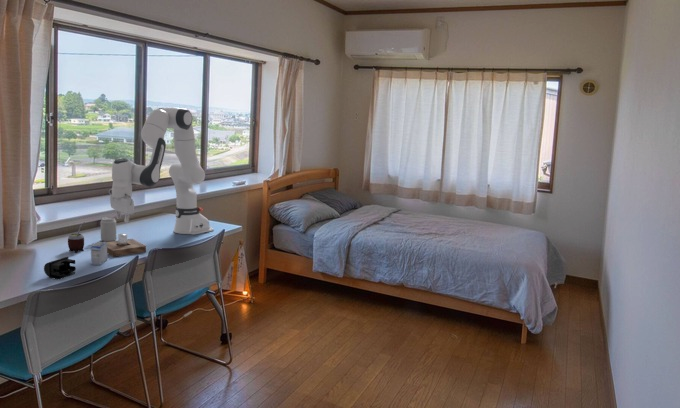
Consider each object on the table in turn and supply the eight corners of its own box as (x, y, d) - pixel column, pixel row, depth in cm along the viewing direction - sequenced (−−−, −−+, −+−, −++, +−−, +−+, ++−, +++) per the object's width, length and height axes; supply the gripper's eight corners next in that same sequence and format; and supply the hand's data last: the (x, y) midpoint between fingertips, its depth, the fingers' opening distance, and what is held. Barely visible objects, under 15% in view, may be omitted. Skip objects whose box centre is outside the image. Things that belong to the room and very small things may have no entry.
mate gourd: (69, 249, 257) (67, 219, 254) (86, 248, 260) (86, 218, 257) (67, 253, 250) (66, 222, 247) (85, 252, 253) (84, 222, 250)
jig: (132, 244, 271) (132, 238, 271) (146, 251, 260) (146, 245, 260) (100, 248, 260) (100, 243, 260) (113, 256, 249) (112, 250, 249)
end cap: (63, 270, 226) (62, 255, 225) (76, 273, 224) (76, 257, 223) (43, 277, 217) (43, 261, 216) (57, 280, 215) (57, 264, 214)
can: (110, 243, 271) (110, 220, 269) (97, 241, 273) (97, 218, 270) (119, 239, 279) (119, 217, 276) (106, 238, 280) (106, 216, 278)
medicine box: (97, 259, 244) (97, 241, 242) (107, 260, 244) (107, 241, 243) (91, 264, 236) (90, 246, 234) (101, 265, 236) (100, 246, 235)
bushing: (125, 248, 263) (125, 233, 262) (128, 250, 260) (128, 234, 259) (117, 250, 260) (117, 234, 259) (120, 251, 257) (120, 236, 256)
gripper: (137, 195, 250) (138, 224, 252) (120, 188, 264) (120, 215, 267) (124, 196, 245) (124, 225, 248) (107, 189, 260) (108, 217, 262)
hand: (122, 220), depth 257 cm, fingers open, 8 cm apart
